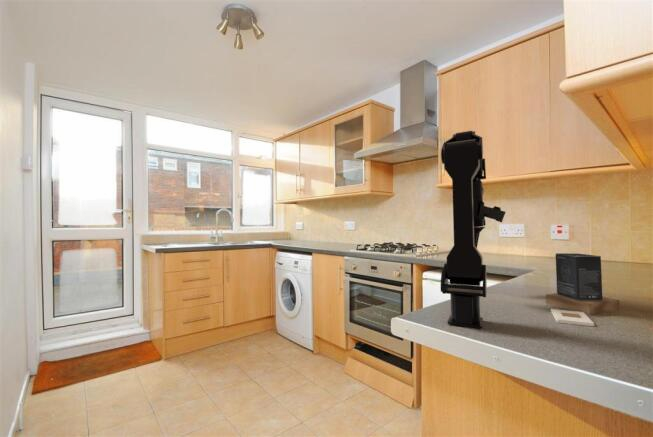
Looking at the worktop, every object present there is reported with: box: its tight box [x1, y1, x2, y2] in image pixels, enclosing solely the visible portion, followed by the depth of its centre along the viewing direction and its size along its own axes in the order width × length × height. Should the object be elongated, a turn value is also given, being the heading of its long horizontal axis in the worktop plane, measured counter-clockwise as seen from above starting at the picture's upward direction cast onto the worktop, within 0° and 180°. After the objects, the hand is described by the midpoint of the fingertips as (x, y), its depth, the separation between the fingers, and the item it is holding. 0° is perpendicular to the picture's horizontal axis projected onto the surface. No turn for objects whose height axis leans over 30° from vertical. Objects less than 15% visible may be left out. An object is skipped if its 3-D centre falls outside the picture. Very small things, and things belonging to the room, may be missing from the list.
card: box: [550, 308, 595, 327], centre depth 67 cm, size 9×6×1 cm, turn 150°
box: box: [555, 252, 603, 301], centre depth 75 cm, size 8×6×11 cm
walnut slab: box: [545, 292, 620, 316], centre depth 75 cm, size 10×10×2 cm
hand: (473, 250), depth 90 cm, fingers open, 9 cm apart
